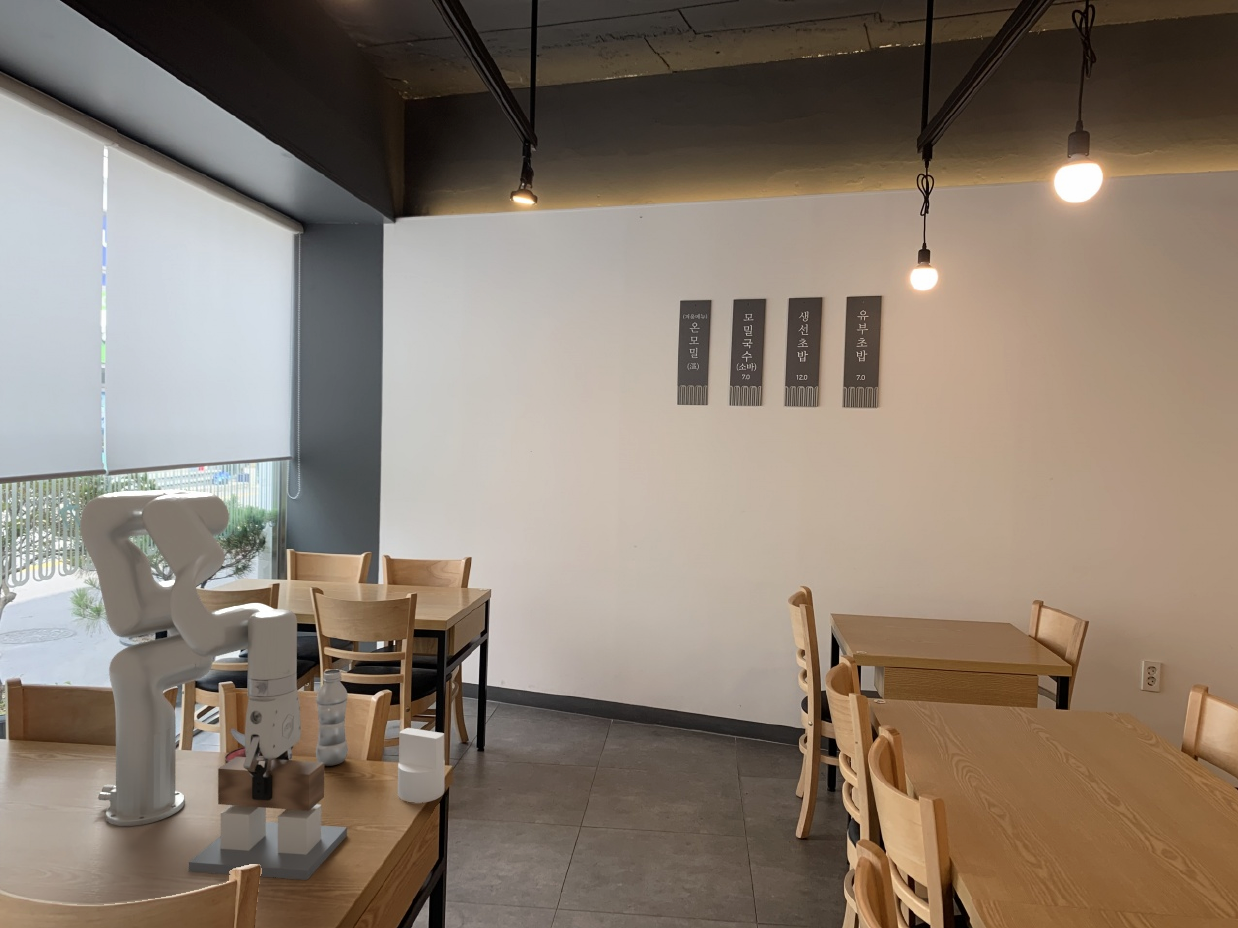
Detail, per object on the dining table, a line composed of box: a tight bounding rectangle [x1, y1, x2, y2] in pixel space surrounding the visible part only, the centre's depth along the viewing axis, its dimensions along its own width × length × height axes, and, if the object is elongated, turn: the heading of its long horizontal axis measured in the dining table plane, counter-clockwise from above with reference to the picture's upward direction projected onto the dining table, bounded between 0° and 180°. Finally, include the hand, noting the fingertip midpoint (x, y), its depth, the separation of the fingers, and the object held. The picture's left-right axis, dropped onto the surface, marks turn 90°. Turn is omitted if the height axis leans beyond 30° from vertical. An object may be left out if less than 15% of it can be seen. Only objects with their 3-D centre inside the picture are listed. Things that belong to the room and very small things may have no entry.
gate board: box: [188, 803, 348, 881], centre depth 129 cm, size 20×14×8 cm
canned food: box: [224, 728, 263, 765], centre depth 164 cm, size 11×10×10 cm
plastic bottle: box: [315, 668, 349, 767], centre depth 166 cm, size 6×7×20 cm
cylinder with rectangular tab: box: [397, 727, 446, 804], centre depth 153 cm, size 9×9×12 cm
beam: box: [217, 757, 325, 811], centre depth 129 cm, size 16×5×6 cm, turn 83°
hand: (271, 790), depth 129 cm, fingers closed on beam, 5 cm apart
